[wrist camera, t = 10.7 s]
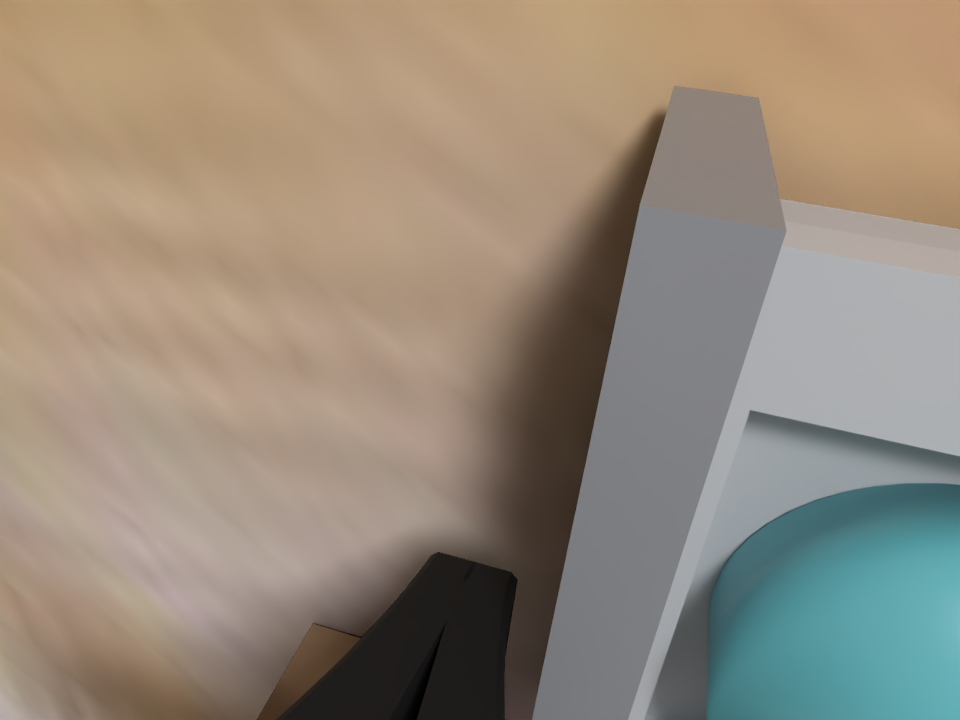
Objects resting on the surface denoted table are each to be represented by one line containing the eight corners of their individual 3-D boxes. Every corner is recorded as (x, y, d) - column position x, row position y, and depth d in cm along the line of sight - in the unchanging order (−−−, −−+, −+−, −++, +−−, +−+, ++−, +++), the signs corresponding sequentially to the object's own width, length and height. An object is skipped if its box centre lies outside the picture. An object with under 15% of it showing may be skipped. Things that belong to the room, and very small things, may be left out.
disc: (886, 801, 12) (912, 941, 11) (631, 609, 12) (616, 726, 10) (1272, 674, 9) (1394, 843, 8) (956, 403, 9) (1012, 521, 7)
